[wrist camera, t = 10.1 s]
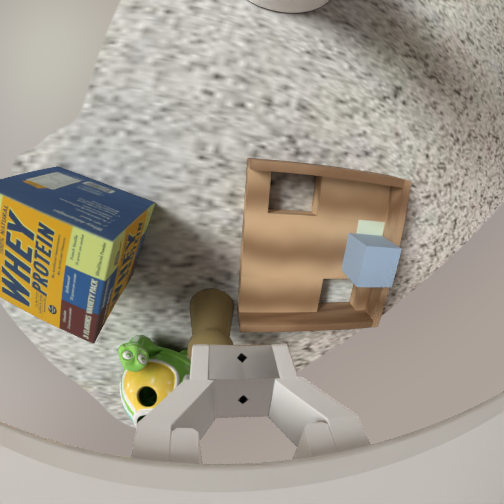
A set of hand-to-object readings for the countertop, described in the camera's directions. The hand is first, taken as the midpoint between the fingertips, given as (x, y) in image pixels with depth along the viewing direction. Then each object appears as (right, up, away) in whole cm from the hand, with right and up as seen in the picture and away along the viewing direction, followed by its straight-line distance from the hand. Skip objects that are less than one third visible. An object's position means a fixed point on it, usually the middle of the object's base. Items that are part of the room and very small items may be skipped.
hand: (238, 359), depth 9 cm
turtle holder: (-14, -14, +34) cm, 39 cm away
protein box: (-20, +8, +25) cm, 33 cm away
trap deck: (+9, +5, +29) cm, 30 cm away
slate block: (+15, +3, +27) cm, 31 cm away
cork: (-5, -4, +31) cm, 31 cm away
